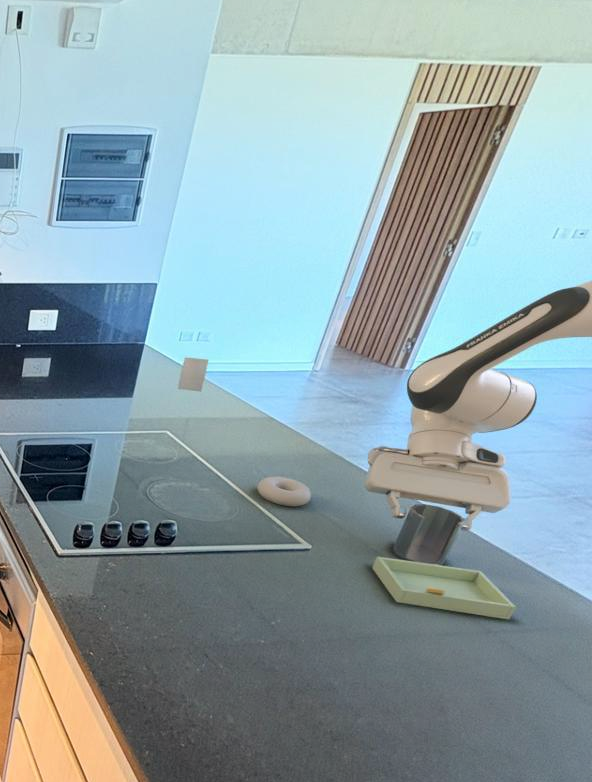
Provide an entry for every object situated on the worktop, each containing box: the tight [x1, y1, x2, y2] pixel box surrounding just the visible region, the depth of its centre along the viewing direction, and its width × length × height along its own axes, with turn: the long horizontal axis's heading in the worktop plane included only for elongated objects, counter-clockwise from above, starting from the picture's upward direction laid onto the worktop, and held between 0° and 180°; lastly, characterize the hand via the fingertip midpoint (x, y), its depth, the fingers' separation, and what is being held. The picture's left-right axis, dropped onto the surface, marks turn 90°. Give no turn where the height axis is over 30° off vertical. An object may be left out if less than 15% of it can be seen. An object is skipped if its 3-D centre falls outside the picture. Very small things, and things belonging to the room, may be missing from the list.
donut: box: [256, 476, 312, 507], centre depth 133 cm, size 10×4×10 cm
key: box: [426, 589, 444, 594], centre depth 101 cm, size 5×2×1 cm
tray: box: [371, 556, 517, 620], centre depth 104 cm, size 15×10×2 cm
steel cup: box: [393, 503, 465, 566], centre depth 112 cm, size 7×7×9 cm
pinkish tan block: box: [177, 356, 209, 392], centre depth 198 cm, size 4×7×10 cm, turn 66°
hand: (430, 523), depth 112 cm, fingers open, 8 cm apart
